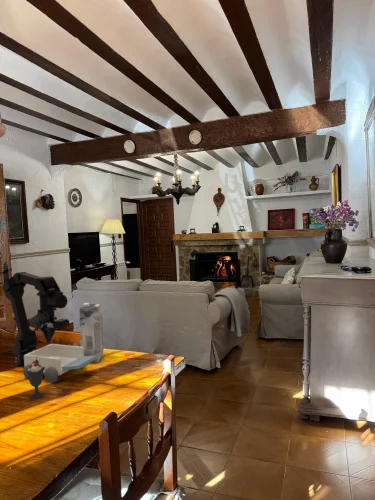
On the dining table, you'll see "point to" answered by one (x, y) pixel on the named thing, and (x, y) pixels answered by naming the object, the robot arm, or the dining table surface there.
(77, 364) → the panel
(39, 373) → the sundae
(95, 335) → the juice carton
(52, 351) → the cart
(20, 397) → the dining table surface
